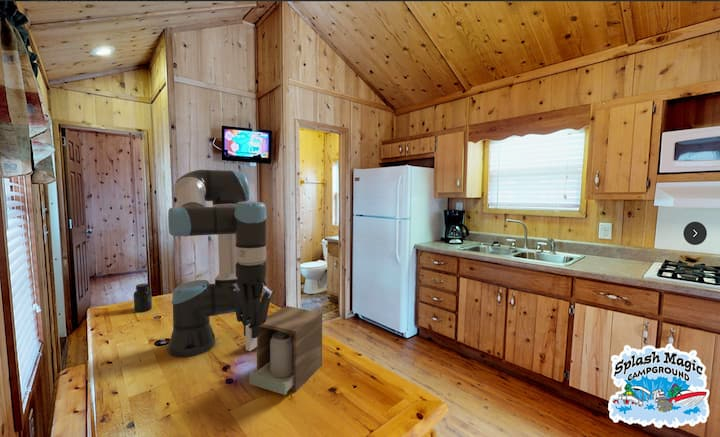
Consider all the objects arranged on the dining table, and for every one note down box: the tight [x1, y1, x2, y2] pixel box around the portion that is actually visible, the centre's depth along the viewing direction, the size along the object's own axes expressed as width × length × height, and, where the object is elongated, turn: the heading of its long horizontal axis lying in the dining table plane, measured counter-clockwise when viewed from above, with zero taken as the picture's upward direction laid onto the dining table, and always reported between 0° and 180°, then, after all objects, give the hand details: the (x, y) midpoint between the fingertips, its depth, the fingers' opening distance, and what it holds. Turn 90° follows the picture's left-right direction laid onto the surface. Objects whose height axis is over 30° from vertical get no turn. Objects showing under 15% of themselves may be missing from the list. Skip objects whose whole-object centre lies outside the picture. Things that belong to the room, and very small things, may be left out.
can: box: [270, 331, 294, 378], centre depth 95 cm, size 8×8×12 cm
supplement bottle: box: [133, 283, 153, 313], centre depth 147 cm, size 7×7×12 cm
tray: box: [248, 362, 294, 396], centre depth 97 cm, size 12×18×3 cm
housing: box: [256, 305, 323, 392], centre depth 99 cm, size 14×15×18 cm
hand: (251, 348), depth 84 cm, fingers closed
